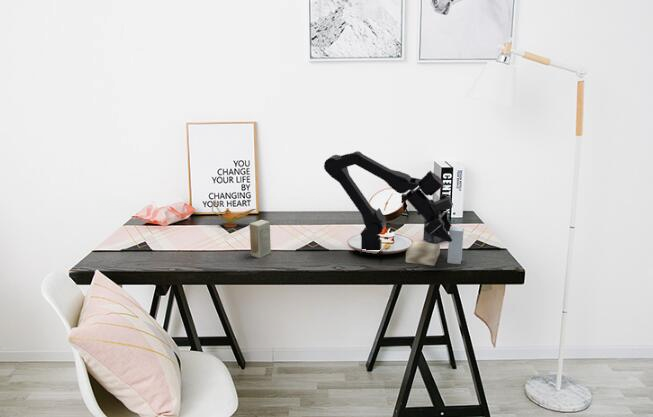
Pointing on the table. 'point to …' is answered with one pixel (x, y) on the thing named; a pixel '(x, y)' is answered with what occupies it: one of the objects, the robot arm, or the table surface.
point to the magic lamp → (231, 216)
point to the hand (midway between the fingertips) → (452, 237)
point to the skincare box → (260, 238)
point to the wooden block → (423, 253)
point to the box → (432, 238)
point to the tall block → (455, 245)
